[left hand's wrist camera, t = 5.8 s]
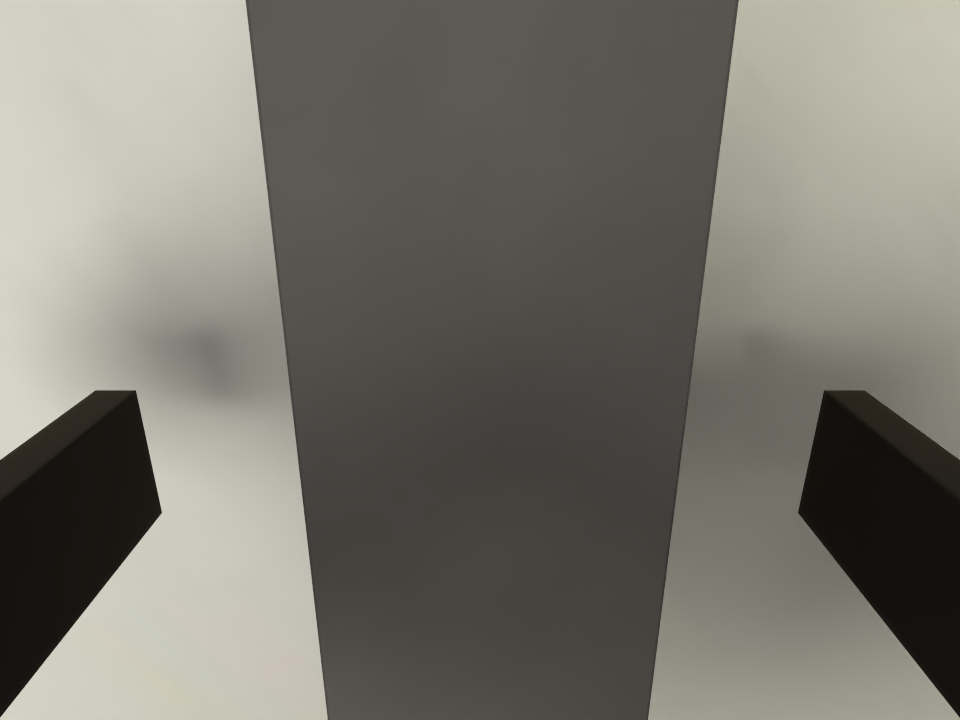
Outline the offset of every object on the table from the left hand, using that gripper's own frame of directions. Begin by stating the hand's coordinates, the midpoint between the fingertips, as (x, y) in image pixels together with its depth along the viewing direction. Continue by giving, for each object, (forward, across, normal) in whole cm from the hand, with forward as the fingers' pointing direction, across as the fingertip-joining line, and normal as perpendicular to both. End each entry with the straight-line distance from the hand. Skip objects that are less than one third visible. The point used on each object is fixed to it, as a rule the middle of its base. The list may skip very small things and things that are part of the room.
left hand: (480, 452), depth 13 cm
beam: (+4, 0, -20) cm, 20 cm away
